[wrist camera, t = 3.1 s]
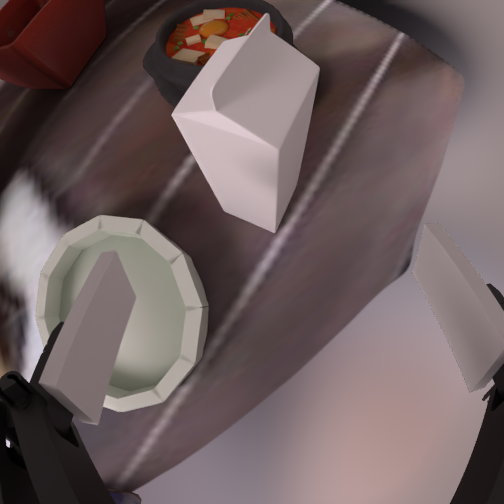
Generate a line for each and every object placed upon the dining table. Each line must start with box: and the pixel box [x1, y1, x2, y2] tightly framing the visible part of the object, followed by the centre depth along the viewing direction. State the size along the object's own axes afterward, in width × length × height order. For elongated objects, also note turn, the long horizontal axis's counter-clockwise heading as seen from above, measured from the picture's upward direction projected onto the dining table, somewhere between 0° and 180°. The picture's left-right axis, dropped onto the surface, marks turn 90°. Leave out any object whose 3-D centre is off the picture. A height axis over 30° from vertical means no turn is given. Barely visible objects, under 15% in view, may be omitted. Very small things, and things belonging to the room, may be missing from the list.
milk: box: [172, 13, 320, 233], centre depth 22 cm, size 6×6×22 cm
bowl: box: [35, 215, 209, 412], centre depth 30 cm, size 20×20×4 cm
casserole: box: [143, 0, 320, 107], centre depth 32 cm, size 25×19×8 cm
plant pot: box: [0, 0, 106, 89], centre depth 31 cm, size 19×19×17 cm
